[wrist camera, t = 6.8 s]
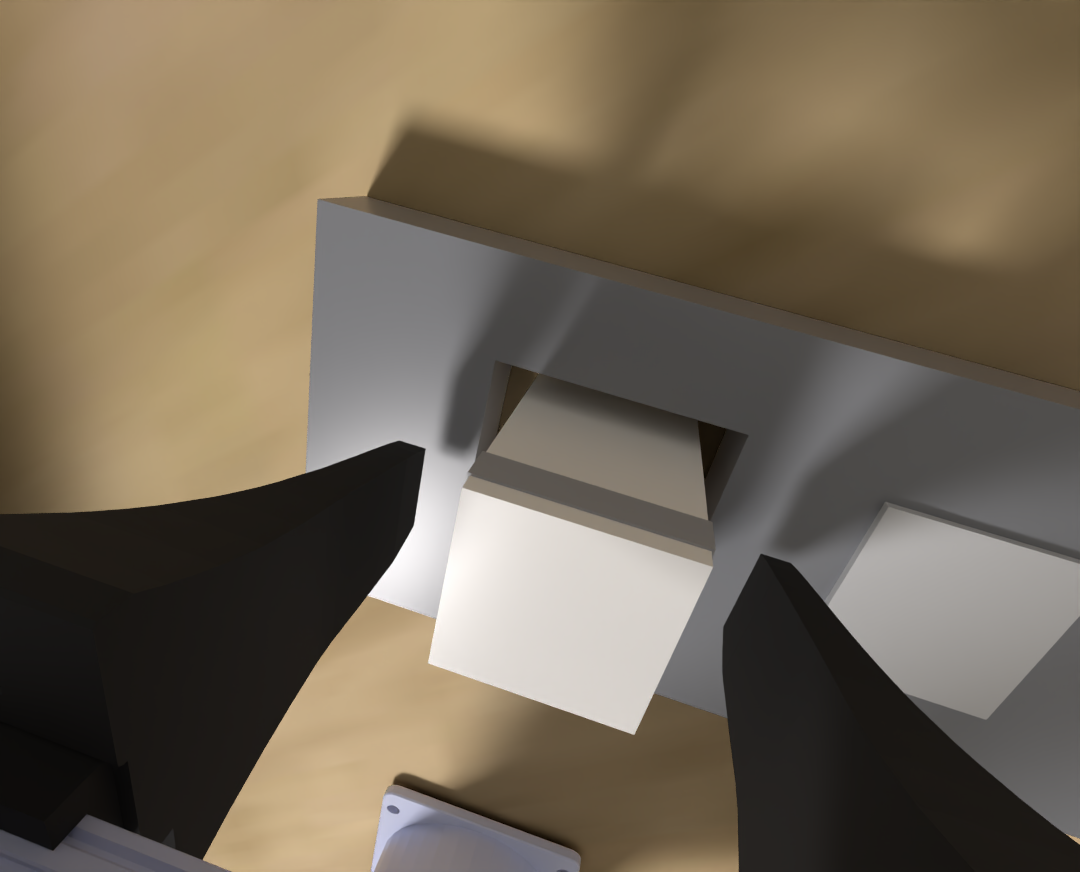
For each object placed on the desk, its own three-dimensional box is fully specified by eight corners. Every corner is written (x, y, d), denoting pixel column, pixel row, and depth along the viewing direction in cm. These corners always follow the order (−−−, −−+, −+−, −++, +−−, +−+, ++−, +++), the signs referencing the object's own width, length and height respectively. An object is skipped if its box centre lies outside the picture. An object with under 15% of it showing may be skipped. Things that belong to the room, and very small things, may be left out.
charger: (648, 545, 16) (636, 738, 10) (507, 501, 16) (425, 664, 11) (700, 414, 14) (717, 566, 8) (539, 367, 14) (459, 483, 9)
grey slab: (1496, 505, 11) (1756, 608, 8) (1140, 799, 16) (1237, 928, 13) (365, 195, 13) (288, 201, 11) (338, 533, 18) (279, 596, 15)
